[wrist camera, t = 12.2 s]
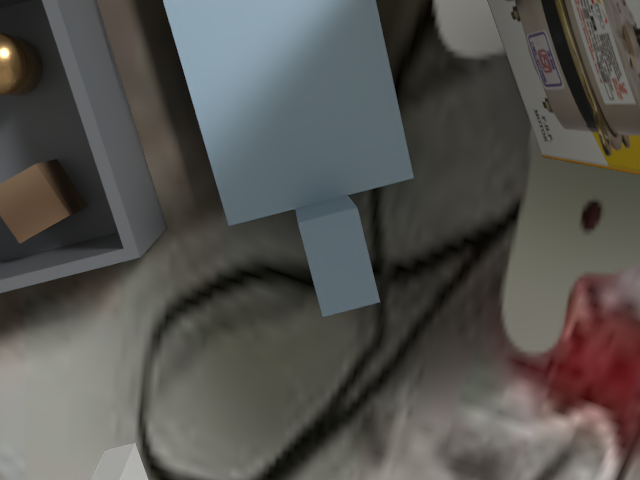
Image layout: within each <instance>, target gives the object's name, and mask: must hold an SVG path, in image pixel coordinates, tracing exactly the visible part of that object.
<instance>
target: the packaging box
mask: <svg viewBox="0 0 640 480" xmlns="http://www.w3.org/2000/svg"><path fill="white" fill-rule="evenodd" d="M487 1H488V4H489V7H490V9H491V12H492V15H493V18H494V21H495V23H496V26H497V29H498V32H499V35H500V38H501V41H502V43H503V46H504V49H505V52H506V55H507V58H508V60H509V63H510V66H511V69H512V72H513V74H514V77H515V80H516V83H517V86H518V89H519V91H520V94H521V97H522V100H523V103H524V106H525V108H526V111H527V114H528V117H529V120H530V123H531V125H532V128H533V131H534V134H535V137H536V140H537V142H538V145H539V148H540V151H541V154H542V157H545V158H550V159H556V160H561V161H567V162H572V163H578V164H584V165H589V166H595V167H600V168H606V169H611V170H617V171H622V172H628V173H634V174H639V175H640V0H487Z"/></svg>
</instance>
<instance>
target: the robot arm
mask: <svg viewBox="0 0 640 480" xmlns="http://www.w3.org/2000/svg"><path fill="white" fill-rule="evenodd" d="M91 480H148V478H147V475H146V472H145V469H144V467H143V464H142V461H141V458H140V455H139V452H138V450H137V447H136V444H135V443H132V444H128V445H124V446H120V447H117V448H113V449H109V450H105V452H104V454H103V456H102V458H101V460H100V462H99V464H98V466H97V468H96V470H95V472H94V474H93V476H92V478H91Z"/></svg>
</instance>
